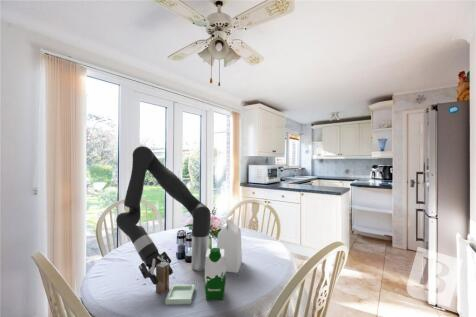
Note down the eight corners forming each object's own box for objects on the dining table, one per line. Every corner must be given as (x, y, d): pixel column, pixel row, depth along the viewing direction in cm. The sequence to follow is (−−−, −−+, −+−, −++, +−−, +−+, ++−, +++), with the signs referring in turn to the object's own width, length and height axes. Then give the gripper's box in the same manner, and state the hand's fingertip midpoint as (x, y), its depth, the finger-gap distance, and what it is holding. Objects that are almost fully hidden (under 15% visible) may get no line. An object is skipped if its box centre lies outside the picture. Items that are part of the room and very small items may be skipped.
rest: (194, 289, 96) (194, 284, 96) (190, 303, 86) (190, 298, 86) (172, 289, 96) (172, 284, 96) (165, 304, 86) (165, 299, 86)
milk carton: (203, 301, 88) (203, 252, 88) (206, 288, 97) (206, 243, 97) (225, 301, 88) (225, 252, 88) (225, 288, 97) (226, 243, 97)
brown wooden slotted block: (162, 287, 97) (162, 261, 98) (168, 289, 96) (169, 263, 96) (155, 291, 94) (156, 265, 94) (162, 294, 93) (163, 267, 93)
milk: (237, 272, 110) (238, 221, 111) (216, 270, 113) (216, 220, 113) (242, 261, 122) (242, 215, 122) (222, 259, 124) (222, 214, 125)
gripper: (136, 248, 92) (156, 282, 87) (161, 237, 105) (180, 266, 100) (128, 258, 94) (147, 292, 89) (153, 246, 107) (171, 275, 102)
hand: (164, 278), depth 94 cm, fingers open, 8 cm apart
